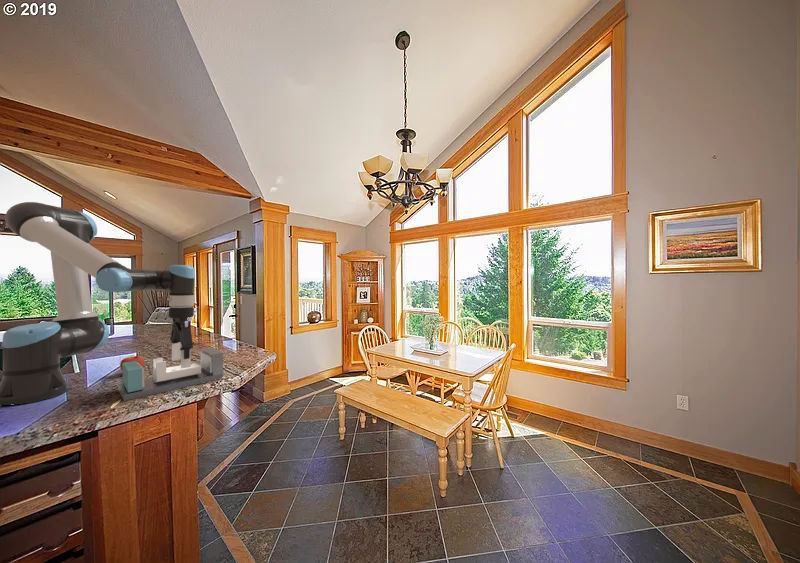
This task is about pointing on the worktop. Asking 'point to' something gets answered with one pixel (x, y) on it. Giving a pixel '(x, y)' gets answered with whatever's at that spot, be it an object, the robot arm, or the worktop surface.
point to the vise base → (166, 385)
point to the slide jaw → (133, 376)
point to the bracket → (172, 370)
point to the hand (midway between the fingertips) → (180, 363)
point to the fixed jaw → (211, 361)
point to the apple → (133, 358)
